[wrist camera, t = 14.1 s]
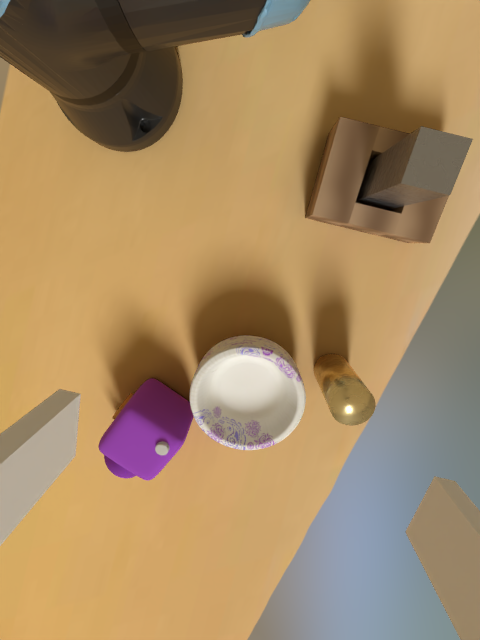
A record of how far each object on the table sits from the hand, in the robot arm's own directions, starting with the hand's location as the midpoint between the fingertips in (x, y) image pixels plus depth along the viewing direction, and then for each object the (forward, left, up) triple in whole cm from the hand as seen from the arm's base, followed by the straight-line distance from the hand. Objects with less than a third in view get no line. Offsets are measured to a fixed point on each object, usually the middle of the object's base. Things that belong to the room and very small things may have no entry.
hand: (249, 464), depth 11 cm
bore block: (+11, +17, -32) cm, 38 cm away
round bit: (+14, -8, -32) cm, 36 cm away
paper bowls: (+2, -12, -32) cm, 34 cm away
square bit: (+11, +17, -32) cm, 38 cm away
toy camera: (-11, -23, -32) cm, 41 cm away
